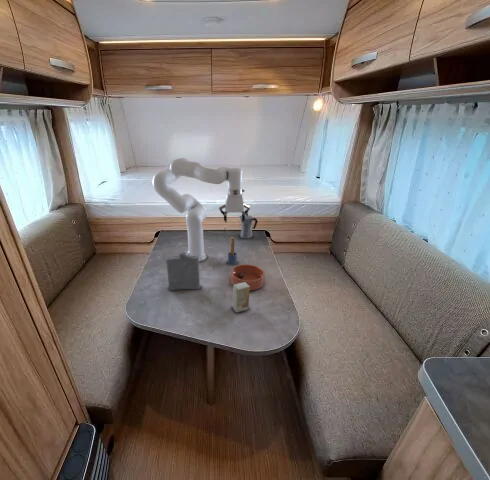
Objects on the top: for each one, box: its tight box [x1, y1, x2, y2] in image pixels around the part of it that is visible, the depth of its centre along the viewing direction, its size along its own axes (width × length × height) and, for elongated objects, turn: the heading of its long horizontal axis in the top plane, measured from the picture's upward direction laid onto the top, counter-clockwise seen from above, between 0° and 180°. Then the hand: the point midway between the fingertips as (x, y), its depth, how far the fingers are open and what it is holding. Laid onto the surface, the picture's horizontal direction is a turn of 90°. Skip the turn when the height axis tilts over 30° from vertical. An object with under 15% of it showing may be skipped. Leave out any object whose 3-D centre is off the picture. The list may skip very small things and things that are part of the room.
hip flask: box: [165, 250, 201, 291], centre depth 134 cm, size 16×4×20 cm, turn 92°
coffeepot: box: [239, 212, 259, 239], centre depth 196 cm, size 15×9×18 cm, turn 51°
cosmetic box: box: [231, 282, 251, 313], centre depth 119 cm, size 6×4×12 cm
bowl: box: [230, 263, 265, 291], centre depth 140 cm, size 17×17×6 cm
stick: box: [230, 236, 235, 256], centre depth 158 cm, size 2×2×16 cm
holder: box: [227, 251, 238, 265], centre depth 160 cm, size 5×6×6 cm
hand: (234, 221), depth 151 cm, fingers open, 9 cm apart
